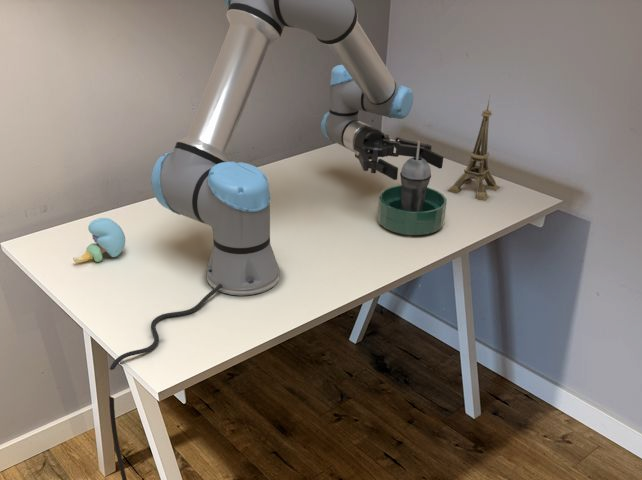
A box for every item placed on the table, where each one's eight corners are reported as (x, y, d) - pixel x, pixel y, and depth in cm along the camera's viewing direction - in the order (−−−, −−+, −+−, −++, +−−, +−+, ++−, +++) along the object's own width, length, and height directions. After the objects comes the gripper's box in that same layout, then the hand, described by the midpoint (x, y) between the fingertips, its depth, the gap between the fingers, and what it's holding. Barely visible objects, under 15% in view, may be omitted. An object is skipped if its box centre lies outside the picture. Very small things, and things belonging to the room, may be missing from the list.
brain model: (58, 225, 143) (110, 207, 149) (69, 261, 149) (119, 243, 154) (71, 238, 139) (125, 219, 144) (82, 274, 144) (133, 255, 150)
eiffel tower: (499, 187, 184) (517, 93, 169) (484, 200, 177) (502, 103, 162) (463, 178, 189) (478, 85, 174) (447, 191, 182) (461, 95, 167)
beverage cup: (427, 215, 167) (437, 135, 155) (423, 228, 162) (433, 146, 150) (398, 211, 169) (406, 132, 157) (393, 224, 163) (401, 142, 151)
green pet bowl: (430, 243, 157) (433, 218, 153) (367, 228, 163) (368, 203, 159) (451, 217, 169) (455, 192, 165) (391, 204, 174) (393, 180, 170)
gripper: (401, 146, 178) (457, 173, 164) (323, 164, 167) (375, 194, 153) (404, 118, 174) (461, 142, 160) (324, 134, 163) (377, 162, 149)
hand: (419, 168), depth 156 cm, fingers open, 13 cm apart
